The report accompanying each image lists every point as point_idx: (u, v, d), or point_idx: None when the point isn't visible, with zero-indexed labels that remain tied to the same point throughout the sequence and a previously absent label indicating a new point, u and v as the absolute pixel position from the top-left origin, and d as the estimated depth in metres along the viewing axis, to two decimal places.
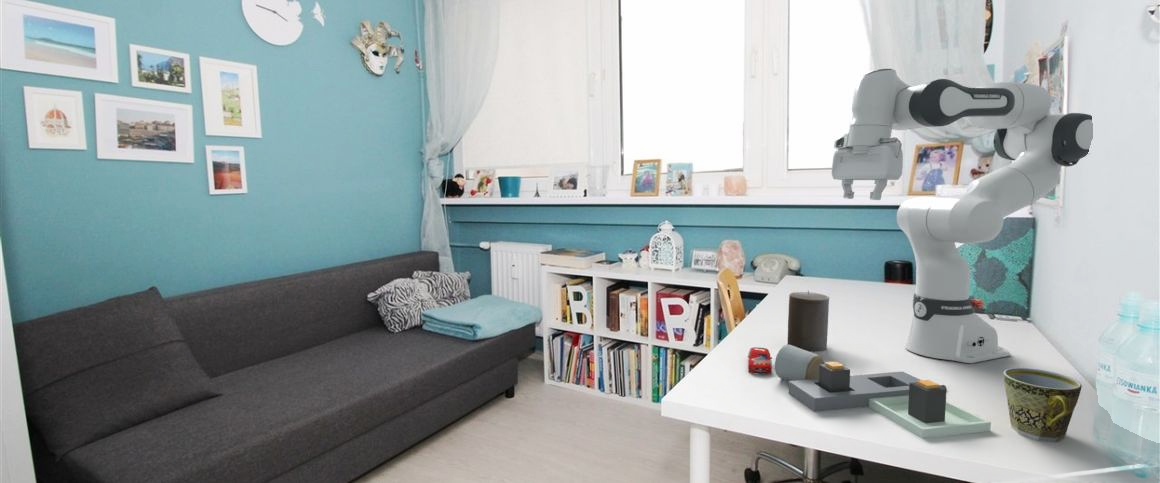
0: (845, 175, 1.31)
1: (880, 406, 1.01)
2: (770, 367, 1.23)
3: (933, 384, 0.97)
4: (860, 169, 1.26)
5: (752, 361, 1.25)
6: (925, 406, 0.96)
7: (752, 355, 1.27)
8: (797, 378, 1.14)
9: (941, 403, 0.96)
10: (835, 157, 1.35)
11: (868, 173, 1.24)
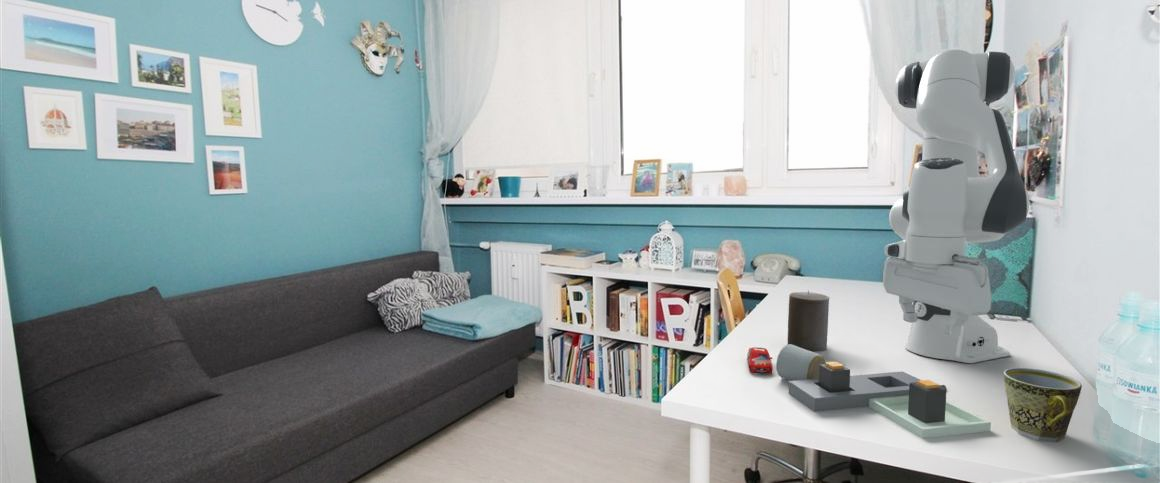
0: (904, 293, 1.00)
1: (880, 406, 1.01)
2: (771, 367, 1.23)
3: (933, 384, 0.97)
4: (926, 292, 0.95)
5: (753, 361, 1.25)
6: (925, 406, 0.96)
7: (752, 355, 1.27)
8: (799, 377, 1.14)
9: (941, 403, 0.96)
10: (887, 266, 1.03)
11: (939, 301, 0.92)
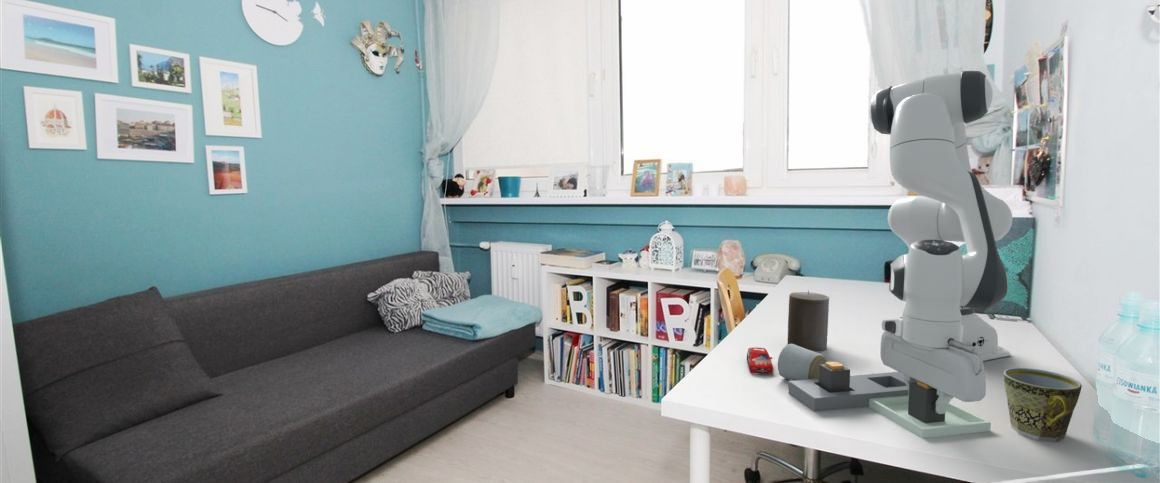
0: (901, 369, 1.02)
1: (880, 406, 1.01)
2: (772, 367, 1.23)
3: None
4: (922, 371, 0.97)
5: (753, 361, 1.25)
6: (925, 406, 0.96)
7: (752, 355, 1.27)
8: (800, 377, 1.14)
9: None
10: (884, 340, 1.05)
11: (935, 383, 0.94)
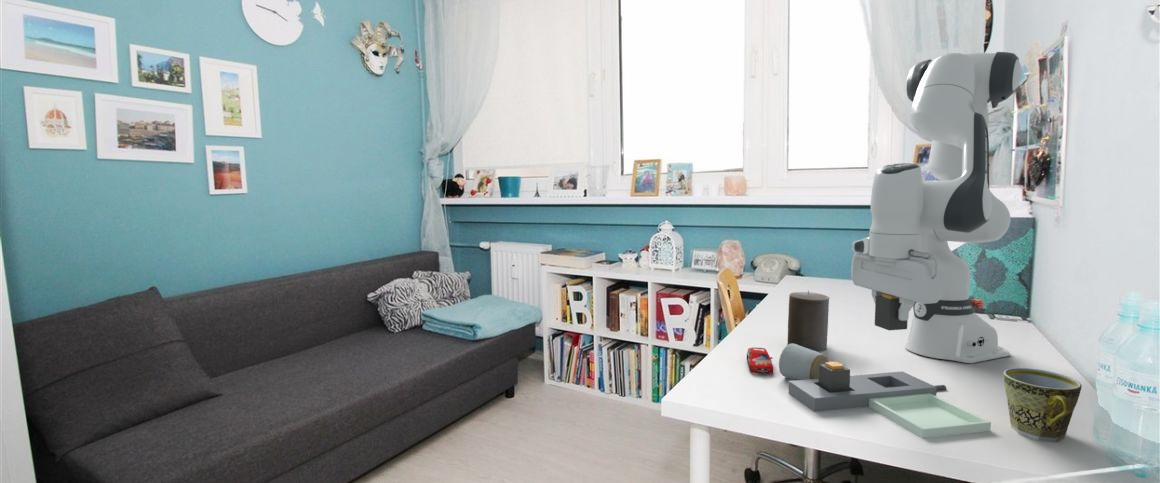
0: (869, 285, 1.11)
1: (880, 406, 1.01)
2: (772, 367, 1.23)
3: None
4: (887, 283, 1.06)
5: (753, 361, 1.25)
6: (889, 315, 1.05)
7: (752, 355, 1.27)
8: (801, 376, 1.15)
9: None
10: (854, 261, 1.14)
11: (898, 291, 1.03)
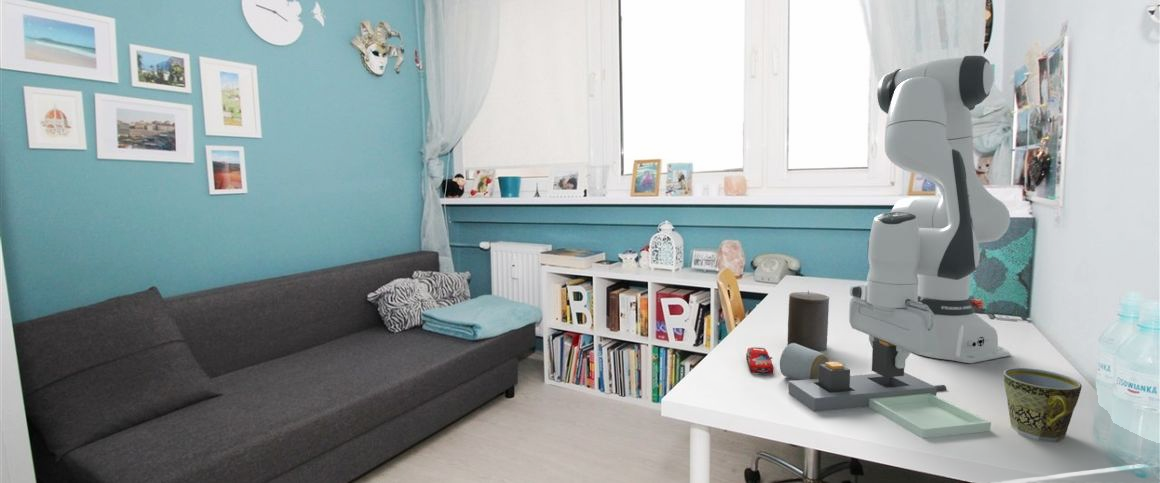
0: (866, 330, 1.12)
1: (880, 406, 1.01)
2: (772, 367, 1.23)
3: None
4: (884, 330, 1.07)
5: (753, 361, 1.24)
6: (886, 362, 1.06)
7: (752, 355, 1.27)
8: (802, 376, 1.15)
9: None
10: (852, 305, 1.15)
11: (895, 340, 1.04)
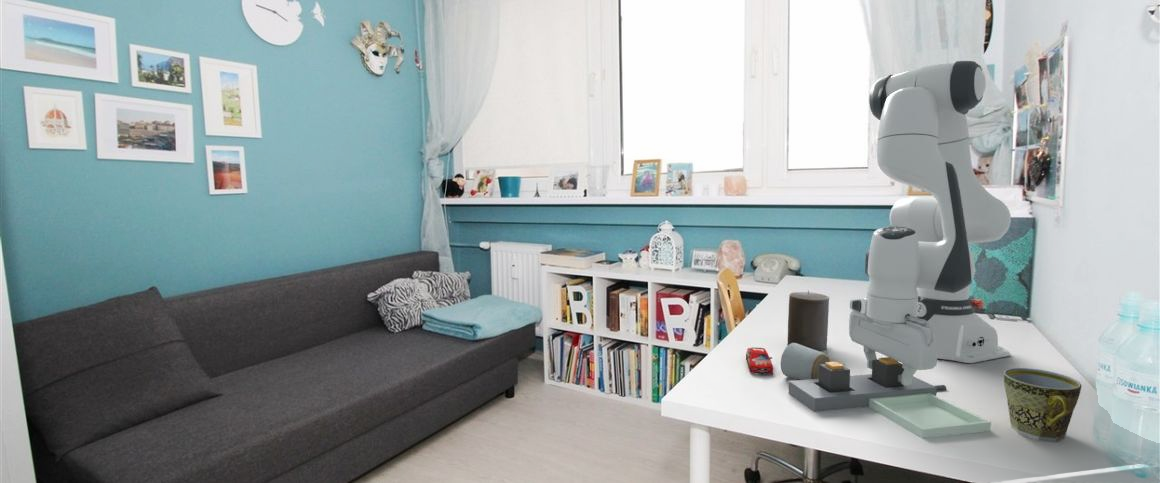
0: (866, 344, 1.12)
1: (880, 406, 1.01)
2: (772, 367, 1.23)
3: (893, 360, 1.08)
4: (884, 345, 1.07)
5: (753, 361, 1.24)
6: (885, 380, 1.07)
7: (752, 355, 1.27)
8: (803, 376, 1.15)
9: None
10: (852, 318, 1.16)
11: (894, 354, 1.04)
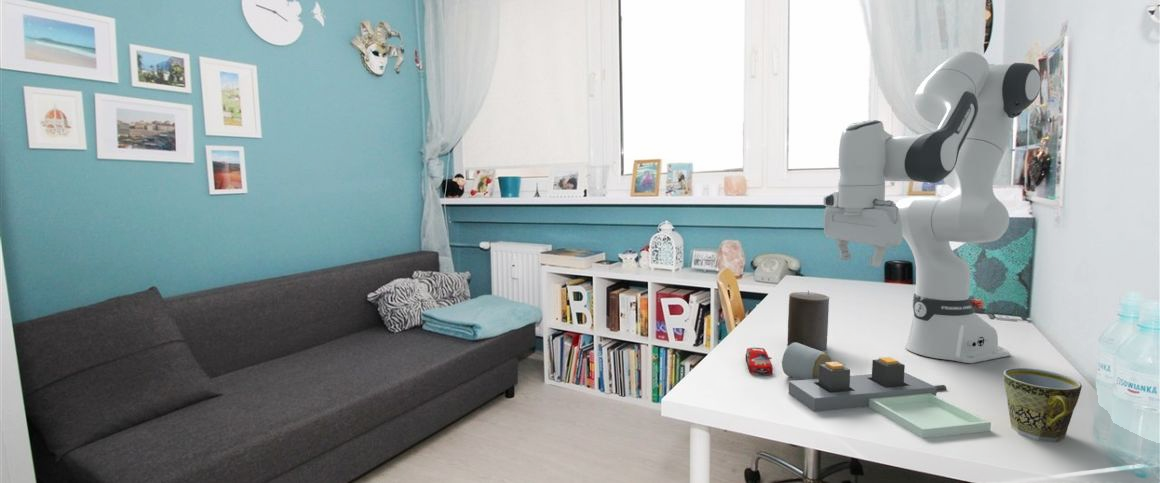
0: (839, 236, 1.20)
1: (880, 406, 1.01)
2: (771, 367, 1.22)
3: (893, 360, 1.08)
4: (855, 232, 1.15)
5: (753, 362, 1.24)
6: (885, 380, 1.07)
7: (752, 356, 1.27)
8: (804, 375, 1.15)
9: (900, 377, 1.07)
10: (826, 214, 1.23)
11: (864, 238, 1.12)
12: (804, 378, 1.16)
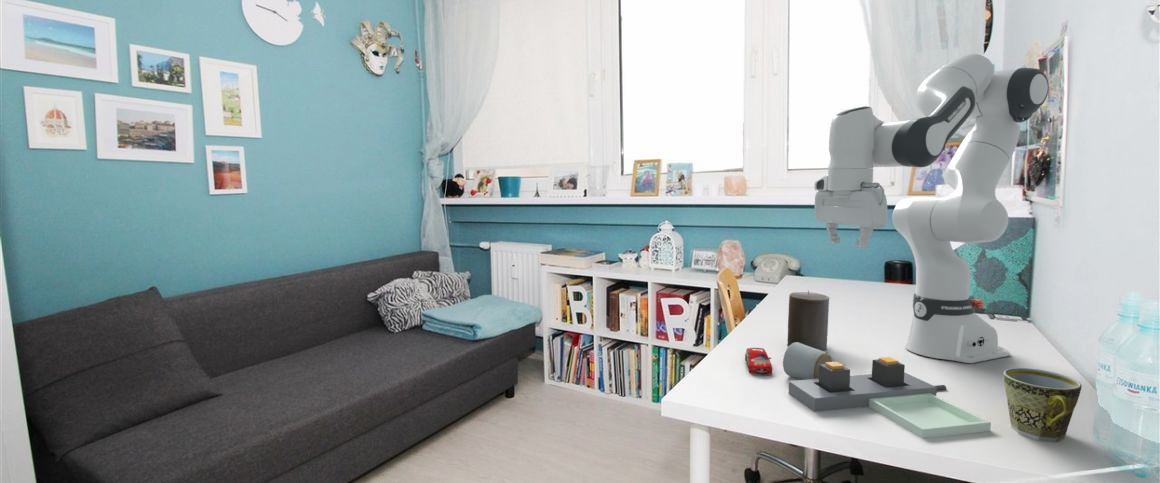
0: (828, 219, 1.23)
1: (880, 406, 1.01)
2: (771, 367, 1.22)
3: (893, 360, 1.08)
4: (843, 214, 1.18)
5: (752, 362, 1.24)
6: (885, 380, 1.07)
7: (751, 356, 1.27)
8: (805, 375, 1.16)
9: (900, 377, 1.07)
10: (817, 199, 1.27)
11: (852, 220, 1.15)
12: (805, 378, 1.16)
